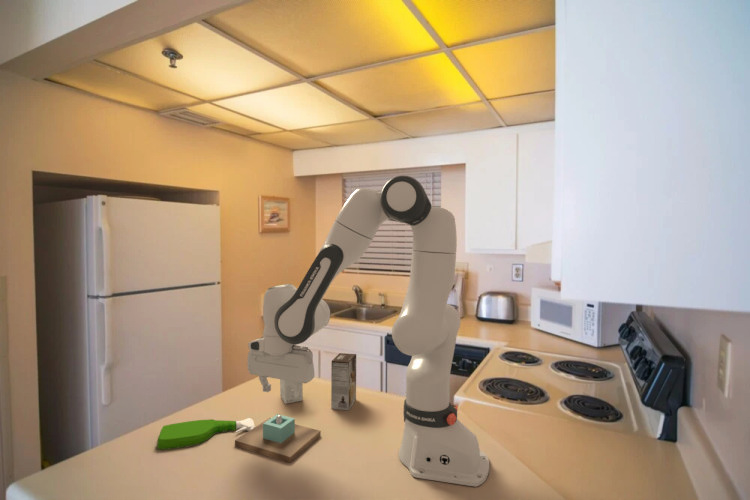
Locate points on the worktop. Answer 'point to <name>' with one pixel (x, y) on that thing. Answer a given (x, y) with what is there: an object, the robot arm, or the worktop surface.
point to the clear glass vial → (279, 420)
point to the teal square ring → (278, 429)
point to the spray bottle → (197, 431)
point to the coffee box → (343, 381)
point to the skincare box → (289, 391)
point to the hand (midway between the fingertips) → (280, 393)
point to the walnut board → (278, 450)
